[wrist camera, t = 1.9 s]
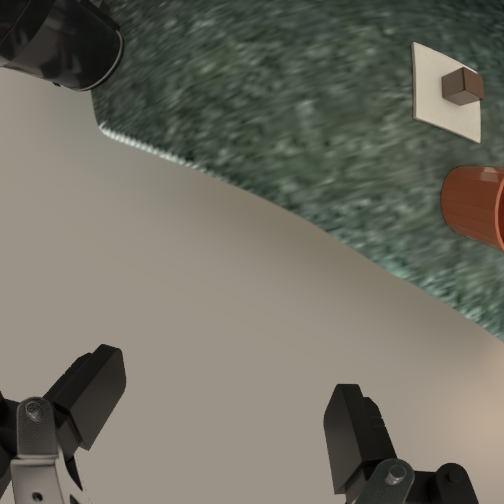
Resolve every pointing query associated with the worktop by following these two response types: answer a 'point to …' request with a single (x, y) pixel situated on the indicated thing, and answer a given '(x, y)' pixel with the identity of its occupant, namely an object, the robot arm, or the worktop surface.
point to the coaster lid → (446, 93)
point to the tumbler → (475, 203)
